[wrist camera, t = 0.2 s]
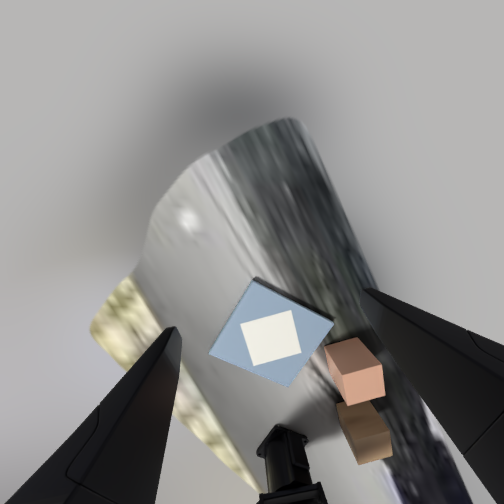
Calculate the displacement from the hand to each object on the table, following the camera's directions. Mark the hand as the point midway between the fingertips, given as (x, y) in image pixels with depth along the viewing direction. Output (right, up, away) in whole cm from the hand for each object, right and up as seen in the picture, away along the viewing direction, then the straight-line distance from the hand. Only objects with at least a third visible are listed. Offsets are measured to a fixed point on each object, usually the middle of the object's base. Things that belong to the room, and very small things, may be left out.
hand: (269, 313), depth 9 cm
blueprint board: (+2, -9, +18) cm, 20 cm away
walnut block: (+16, -23, +23) cm, 36 cm away
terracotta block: (+13, -12, +20) cm, 27 cm away
